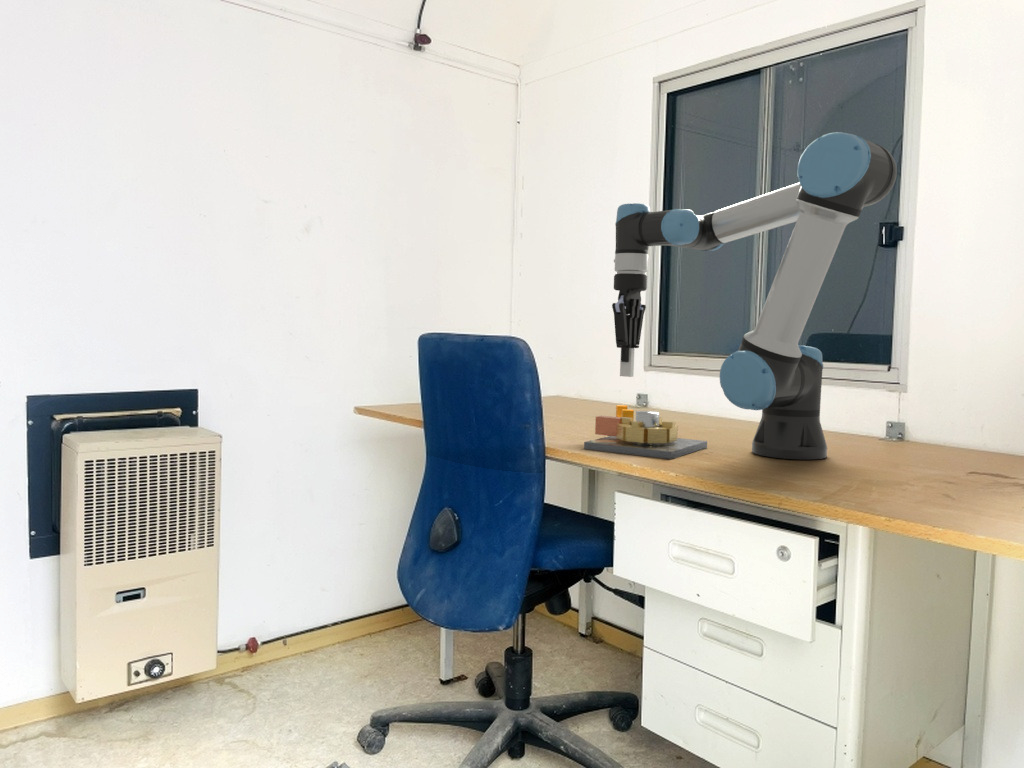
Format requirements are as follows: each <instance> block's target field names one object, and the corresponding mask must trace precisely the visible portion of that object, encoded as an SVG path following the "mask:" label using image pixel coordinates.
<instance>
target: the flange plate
mask: <svg viewBox="0 0 1024 768" xmlns="http://www.w3.org/2000/svg"><path fill="white" fill-rule="evenodd" d="M659 417H660V412H659V411H655V410H636V411H635V421H642V422H643V427H659ZM583 443H584V444H583V449H584V450H590V451H597V452H607V453H614V454H623V455H625V454H626V455H633V456H640V457H642V456H643V457H649V458H657V459H667V460H673V459H677V458H679V457H682V456H685V455H689V454H691V453H695V452H697V451H701V450H705V449H707V448H708V440H701V439H691V438H681V437H677V441H674V442H670V443H667V442H666V443H646V442H645V443H640V442H630V441H625V440H621V439H618V438H617V437H616V436H605V437H600V438H597V439H590V440H587V441H584V442H583Z"/></svg>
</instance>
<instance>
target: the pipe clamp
mask: <svg viewBox="0 0 1024 768" xmlns="http://www.w3.org/2000/svg"><path fill="white" fill-rule="evenodd" d="M634 412H635V411H634V410H633V409H628V406H627V405H625V404H624V405H623V404H622V405H619V404H617V405H616V407H615V417H628V418H633V419H634V416H635V414H634Z"/></svg>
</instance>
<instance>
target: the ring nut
mask: <svg viewBox="0 0 1024 768" xmlns="http://www.w3.org/2000/svg"><path fill="white" fill-rule="evenodd" d="M594 427H595V428H594V429H595V430H594V434H595V435H598V436H599V435H600V436H606V437H609V436H616V437H617V438H618V439H621V440H625V441H630V442H640V443H645V442H646V443H666V442H667V443H670V442H674V441H677V438H678V433H679V432H678V430H679V429H678V428H679V426H678V425H676V421H672V420H671V421H670V420H663V417H660V416H659V427H643V422H642V421H636V420H634V418H628V417H616V416H609V415H598V416H597V415H596V416H595V426H594Z"/></svg>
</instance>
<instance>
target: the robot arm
mask: <svg viewBox="0 0 1024 768" xmlns="http://www.w3.org/2000/svg"><path fill="white" fill-rule="evenodd" d="M897 170H898V168H897V164H896V160H895V159H894V157H893V155H892V153H891V152H890V151H889V150H888V149H886V148H885V147H884V146H882V145H879V144H878V143H877V144H876V143H875V142H874V143H873V142H871V141H870V140H867V139H865V138H863V137H862V136H859V135H855V134H854V133H847V132H841V131H839V132H838V131H836V132H830V133H826V134H823V135H821V136H820V137H818V138H816V139H815V140H813V141H812V142H811V143H809V145H807V147H806V148H805V150H804V151H803V152H802V153H801V155H800V158H799V161H798V164H797V170H796V171H797V178H798V181H799V182H797V183H794V184H791V185H787V186H786V187H781V188H779V189H775V190H773V191H771V192H766V193H765V194H760V195H759V196H755V197H753V198H750V199H747V200H744V201H740V202H738V203H735V204H732V205H729V206H726V207H723V208H721V209H717V210H715V211H713V212H707V213H706V214H702V215H698V214H695V213H694V211H693V210H692V209H689V208H688V209H686V208H685V209H683V208H673V209H669V210H668V209H667V210H660V211H651V207H650V206H649V205H648V204H646V203H639V202H638V203H623V204H620V205H619V206H618V207H617V210H616V218H615V219H616V221H615V251H614V255H615V256H614V259H613V262H614V272H616V273H615V274H614V275H613V290H615V291H618V292H619V293H618V297H617V302H612V304H611V308H612V311H613V317H614V319H613V320H614V332H615V334H614V335H615V344H616V345H615V346H616V348H618V349H620V360H619V361H620V364H619V365H620V368H619V376H620V377H626V378H627V377H628V378H633V377H634V371H635V368H634V367H635V349H639V348H640V343H641V337H642V336H641V334H642V329H643V323H644V316H645V312H646V309H647V307H646V304H642V296H641V295H642V294H641V292H645V291H646V290H647V288H648V276H647V274H646V273H648V271H649V247H657V246H659V247H660V246H665V247H666V246H669V247H672V246H673V247H678V248H685V249H686V248H687V249H693V250H699V251H701V252H710V251H711V252H712V251H718V250H719V249H721V248H722V247H723V246H724V245H725V244H726V243H730V242H732V241H736V240H740V239H742V238H746V237H750V236H753V235H757V234H759V233H762V232H766V231H770V230H773V229H776V228H779V227H782V226H786V225H789V224H792V223H793V224H794V223H795V225H794V228H793V230H792V232H791V236H790V238H789V241H788V243H787V245H786V248H785V249H784V253H783V255H782V258H781V261H780V264H779V266H778V268H777V271H776V274H775V276H774V279H773V281H772V284H771V286H770V289H769V292H768V293H767V297H766V300H765V302H764V305H763V307H762V310H761V312H760V315H759V317H758V320H757V322H756V325H755V328H754V329H753V330H750V331H748V332H747V333H745V334H744V335H743V336H742V339H741V342H740V345H739V347H738V350H736V351H733V352H732V353H730V354H729V355H728V356H727V357H726V358H725V359H724V360H723V362H722V364H721V367H720V371H719V384H720V388H721V389H722V393H723V394H724V396H725V397H726V398H727V400H728V401H729V402H730V403H731V404H733V406H736V407H737V408H740V409H741V410H752V411H761V418H760V421H759V423H758V426H757V429H756V431H755V434H754V437H753V439H752V443H751V452H752V453H753V454H755V455H757V456H758V455H759V456H763V457H768V458H776V459H785V460H806V461H807V460H809V461H810V460H821V459H825V458H827V457H828V446H827V442H826V439H825V435H824V432H823V431H824V430H823V428H822V424H821V417H820V416H821V414H820V413H821V399H822V384H823V383H822V382H823V381H822V380H823V369H824V363H823V352H822V351H821V350H820V349H818V348H817V347H813V346H808V345H807V346H806V345H799V342H800V339H801V337H802V334H803V331H804V329H805V327H806V324H807V322H808V320H809V318H810V315H811V312H812V310H813V307H814V304H815V302H816V299H817V297H818V295H819V293H820V290H821V287H822V285H823V283H824V281H825V277H826V275H827V273H828V271H829V269H830V266H831V263H832V261H833V258H834V256H835V254H836V251H837V249H838V246H839V244H840V241H841V240H842V236H843V235H844V231H845V230H846V227H847V226H848V224H850V223H852V222H854V221H857V220H859V217H860V215H861V213H862V210H863V208H865V207H869V206H872V205H874V204H876V203H877V204H878V203H879V202H880V201H881V200H883V199H884V198H885V197H887V196H888V195H889V193H890V192H891V191H892V188H893V187H894V185H895V184H896V183H895V182H896V180H897V175H898V174H897V173H898V171H897Z"/></svg>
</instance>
